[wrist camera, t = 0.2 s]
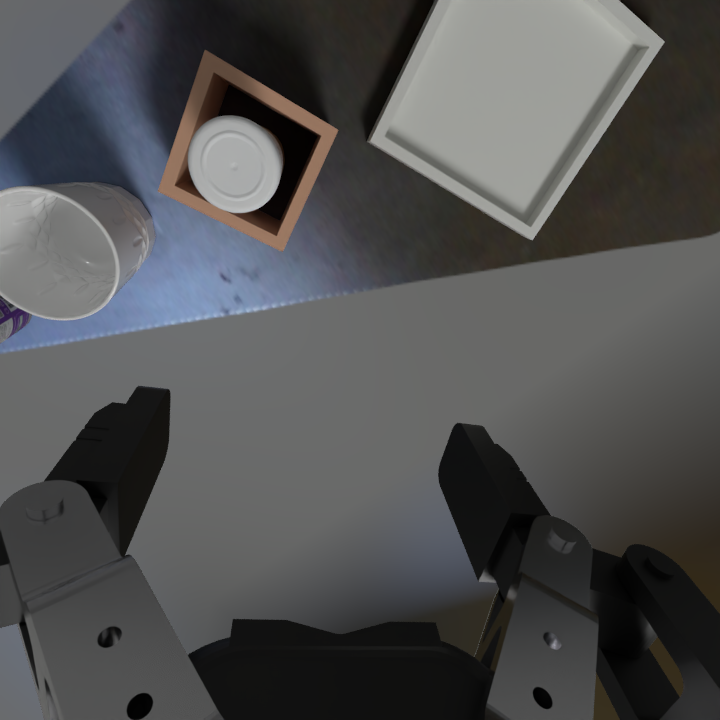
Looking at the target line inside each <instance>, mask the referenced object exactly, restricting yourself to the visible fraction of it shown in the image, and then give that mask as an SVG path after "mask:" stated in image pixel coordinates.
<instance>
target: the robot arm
mask: <svg viewBox="0 0 720 720" xmlns="http://www.w3.org/2000/svg"><path fill="white" fill-rule="evenodd" d="M169 426H170V390H169V389H163V388H154V387H145V386H138V387H137V388H136V389H135V391H134V392H133V394H132V395H131V397H130V398H129V400H128V401H127V403H126V404H122V403H113V402H112V403H111V404H109V405H108V406H106V407H104V408H102V409H101V410H99V411H97V412H96V413H94V415H93V416H92V418H91V419H90V420H89V421H88V423H87V424H86V425H85V428H84V429H82V431H81V432H80V433H79V435H78V436H77V438H76V441H74V442H73V443H72V444H71V446H70V447H69V449H68V450H67V451H66V452H65V454H64V455H63V456H62V458H61V459H60V460H59V462H58V463H57V464H56V466H55V467H54V468H53V470H52V471H51V472H50V474H49V475H48V477H47V478H46V479H45V481H44V482H40V483H36V484H33V485H30V486H28V487H25V488H23V489H21V490H19V491H18V492H16V493H14V494H13V495H12V496H10V497H9V498H8V499H7V500H6V501H5V502H4V503H3V504H2V506H1V507H0V628H2V627H5V626H9V625H13V624H17V625H18V629H19V632H20V636H21V639H22V642H23V646H24V649H25V653H26V656H27V660H28V663H29V667H30V670H31V673H32V677H33V680H34V684H35V687H36V691H37V694H38V697H39V701H40V705H41V708H42V713H43V717H44V720H593V711H594V695H595V677H596V673H597V675H598V677H599V679H600V681H601V683H602V685H603V687H604V688H605V691H606V693H607V695H608V697H609V698H610V700H611V703H612V705H613V706H614V708H615V710H616V712H617V714H618V716H619V718H620V720H720V614H719V613H718V611H717V610H716V609H715V608H714V606H713V605H712V604H711V603H710V602H709V601H708V599H707V598H706V597H705V596H704V594H703V593H702V592H701V591H700V590H699V588H698V587H697V586H696V585H695V583H694V582H693V581H692V580H691V579H690V577H689V576H688V575H687V574H686V573H685V571H684V570H683V569H682V568H681V567H680V566H679V565H678V564H677V563H676V562H674V561H673V560H672V559H670V558H669V557H668V556H666V555H665V554H663V553H661V552H660V551H658V550H655V549H653V548H651V547H648V546H645V545H640V544H634V545H631V546H629V547H628V548H627V549H626V551H625V553H624V554H623V555H622V557H618V556H614V555H611V554H608V553H605V552H602V551H599V550H596V549H593V548H592V547H591V544H590V542H589V541H588V539H587V538H586V537H585V535H584V534H583V533H582V532H581V531H580V530H578V529H577V528H576V527H575V526H573V525H572V524H570V523H568V522H567V521H565V520H562V519H560V518H557V517H554V516H551V515H550V514H549V512H548V511H547V509H546V508H545V506H544V505H543V503H542V502H541V500H540V499H539V497H538V496H537V494H536V493H535V491H534V490H533V488H532V486H531V485H530V483H529V482H527V481H526V480H527V479H526V477H525V476H524V474H523V473H522V471H520V468H519V467H518V465H517V464H516V463H515V461H514V459H513V458H512V456H511V455H510V454H508V453H507V452H506V451H505V450H504V449H503V448H502V447H500V446H499V445H498V444H494V442H493V441H492V439H491V438H490V436H489V434H488V433H487V431H486V430H485V428H484V427H483V426H479V425H471V424H462V423H457V424H456V425H455V426H454V427H453V429H452V432H451V435H450V437H449V440H448V443H447V446H446V448H445V451H444V454H443V457H442V459H441V462H440V466H439V473H438V477H439V484H440V487H441V489H442V492H443V494H444V497H445V499H446V502H447V504H448V507H449V509H450V512H451V514H452V517H453V519H454V522H455V524H456V527H457V529H458V532H459V534H460V537H461V539H462V542H463V544H464V547H465V549H466V552H467V554H468V557H469V559H470V562H471V564H472V566H473V569H474V572H475V574H476V577H477V579H478V582H496V583H497V585H498V587H499V589H498V592H497V594H496V595H495V597H494V600H493V603H492V606H491V609H490V612H489V615H488V618H487V621H486V624H485V627H484V630H483V633H482V636H481V639H480V642H479V645H478V648H477V651H476V654H475V656H474V657H473V656H471V655H470V654H468V653H467V652H465V651H463V650H461V649H459V648H458V647H456V646H453V645H451V644H449V643H446V642H443V641H441V640H440V636H439V633H438V629H437V626H436V623H431V622H387V623H383V624H379V625H376V626H372V627H368V628H364V629H361V630H357V631H354V632H350V633H346V634H335V633H331V632H327V631H324V630H320V629H316V628H313V627H309V626H306V625H302V624H298V623H295V622H291V621H288V620H252V619H251V620H250V619H233V623H232V629H231V637H229V638H225V639H222V640H218V641H216V642H213V643H211V644H208V645H205V646H203V647H201V648H199V649H197V650H195V651H194V652H192V653H190V654H189V655H187V653H186V651H185V649H184V648H183V646H182V644H181V642H180V640H179V639H178V637H177V635H176V633H175V631H174V629H173V628H172V626H171V624H170V622H169V620H168V619H167V617H166V615H165V613H164V611H163V609H162V608H161V606H160V604H159V602H158V600H157V598H156V597H155V595H154V593H153V591H152V589H151V587H150V586H149V584H148V582H147V580H146V578H145V576H144V575H143V573H142V571H141V569H140V567H139V566H138V564H137V562H136V561H135V559H134V558H133V557H132V556H131V555H126V556H125V554H126V551H127V549H128V547H129V544H130V542H131V540H132V537H133V535H134V532H135V530H136V528H137V525H138V523H139V520H140V518H141V516H142V513H143V511H144V509H145V506H146V504H147V501H148V499H149V497H150V494H151V492H152V489H153V487H154V485H155V482H156V480H157V477H158V475H159V473H160V470H161V468H162V466H163V463H164V461H165V457H166V454H167V449H168V443H169ZM657 636H658V638H659V639H660V640H661V642H662V644H663V645H664V646H665V648H666V650H667V651H668V653H669V654H670V656H671V657H672V658H673V660H674V662H675V663H676V665H677V666H678V668H679V670H680V672H681V675H682V678H683V684H684V689H683V693H682V695H681V697H679V695H678V694H677V692H676V691H675V689H674V688H673V686H672V684H671V683H670V681H669V680H668V678H667V676H666V675H665V673H664V672H663V670H662V669H661V667H660V665H659V664H658V662H657V661H656V659H655V657H654V656H653V654H652V653H651V651H650V650H649V647H650V645H651V644H652V643H653V641H654V640H655V639H656V638H657Z"/></svg>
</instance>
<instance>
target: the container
mask: <svg viewBox="0 0 720 720" xmlns="http://www.w3.org/2000/svg"><path fill="white" fill-rule="evenodd" d="M31 316H32V314H30V313H28V312H25V311H23V310H21V309H19V308H18V307H16V306H14V305H13V304H11V303H10V302H8V301H7V300H5V299H4V298H3V297H2V296H0V343H2V342H3V341H5V340H6V339H8V338H9V337H10V336H12V335H13V334H15V333H16V332H18V331H19V330H21V329H22V328H23V327H25V326H26V325H27V324H28V323H29V321H30V319H31Z"/></svg>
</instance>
